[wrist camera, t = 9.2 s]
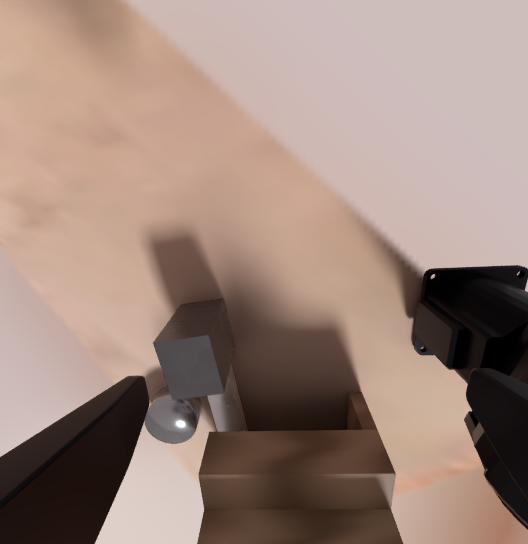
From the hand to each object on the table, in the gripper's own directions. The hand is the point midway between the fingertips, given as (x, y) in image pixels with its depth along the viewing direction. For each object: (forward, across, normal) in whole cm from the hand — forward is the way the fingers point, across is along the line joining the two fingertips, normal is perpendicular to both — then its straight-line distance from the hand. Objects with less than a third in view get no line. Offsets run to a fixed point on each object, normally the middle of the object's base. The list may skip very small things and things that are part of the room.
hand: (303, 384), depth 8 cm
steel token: (+12, +9, +12) cm, 19 cm away
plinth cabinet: (+12, 0, +14) cm, 18 cm away
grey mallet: (+12, +5, +9) cm, 16 cm away
